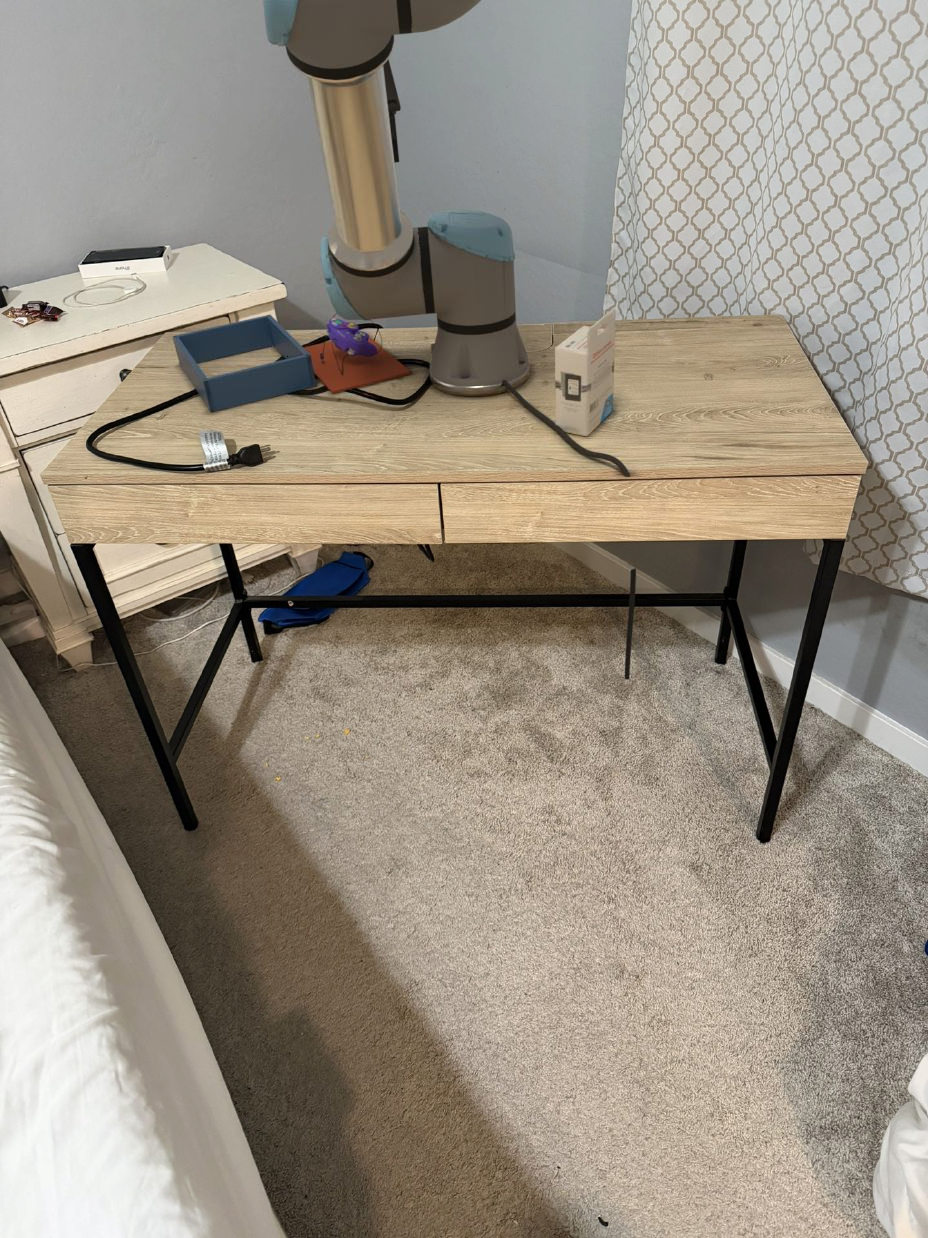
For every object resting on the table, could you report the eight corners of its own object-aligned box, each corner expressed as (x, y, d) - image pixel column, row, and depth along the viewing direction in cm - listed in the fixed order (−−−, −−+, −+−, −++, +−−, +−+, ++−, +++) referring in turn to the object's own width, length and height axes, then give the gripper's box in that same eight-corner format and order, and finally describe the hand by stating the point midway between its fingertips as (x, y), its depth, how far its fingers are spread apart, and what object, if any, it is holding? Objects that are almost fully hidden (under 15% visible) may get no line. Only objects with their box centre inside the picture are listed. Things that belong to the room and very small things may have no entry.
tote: (316, 386, 142) (310, 355, 139) (210, 412, 137) (202, 380, 134) (276, 343, 158) (270, 314, 154) (180, 365, 152) (172, 335, 149)
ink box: (581, 405, 130) (583, 301, 121) (613, 411, 128) (617, 306, 119) (553, 430, 125) (553, 323, 116) (586, 437, 122) (588, 329, 113)
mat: (411, 373, 143) (410, 371, 143) (332, 393, 139) (332, 391, 139) (365, 335, 158) (364, 332, 157) (292, 352, 154) (292, 349, 153)
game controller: (398, 332, 146) (349, 339, 139) (385, 377, 151) (338, 386, 145) (359, 301, 150) (310, 307, 143) (348, 346, 155) (301, 353, 148)
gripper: (304, -6, 140) (325, 147, 153) (362, 0, 122) (381, 173, 135) (349, -11, 143) (367, 140, 156) (413, -6, 125) (427, 164, 138)
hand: (374, 155), depth 146 cm, fingers open, 13 cm apart
